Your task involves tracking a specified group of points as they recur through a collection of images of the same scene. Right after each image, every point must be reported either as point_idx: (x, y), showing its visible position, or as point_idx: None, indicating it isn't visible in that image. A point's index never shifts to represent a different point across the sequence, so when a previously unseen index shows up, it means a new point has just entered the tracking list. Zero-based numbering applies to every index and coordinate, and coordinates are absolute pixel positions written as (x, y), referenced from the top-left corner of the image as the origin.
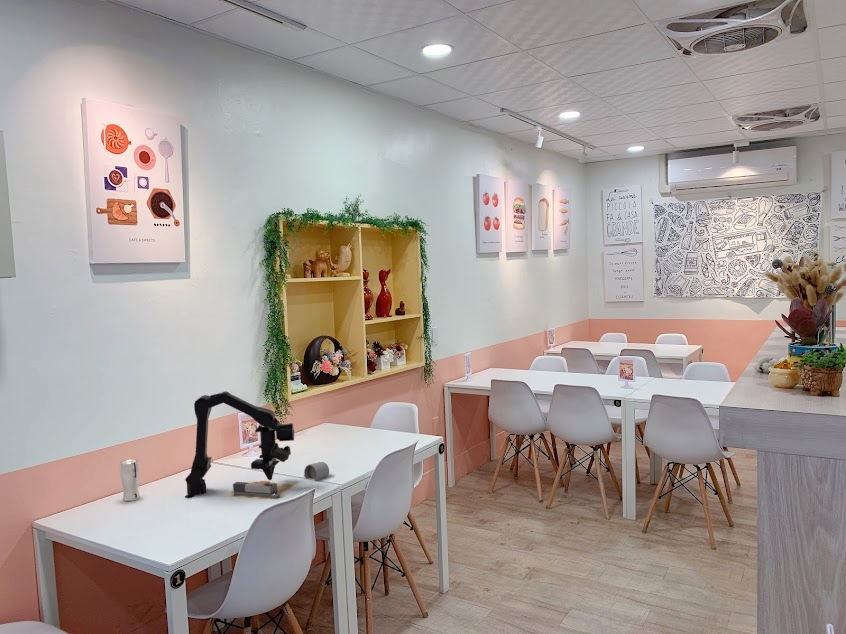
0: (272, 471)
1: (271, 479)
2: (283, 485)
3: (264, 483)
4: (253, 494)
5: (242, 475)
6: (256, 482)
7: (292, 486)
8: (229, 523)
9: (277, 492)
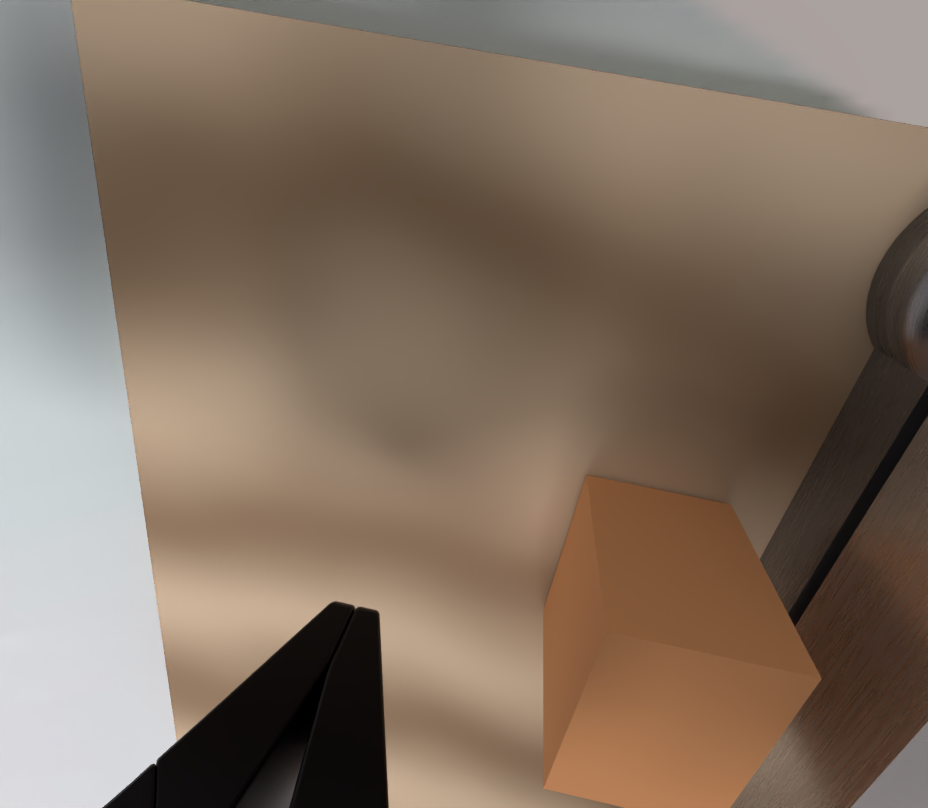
0: (234, 802)
1: (347, 605)
2: (234, 314)
3: (773, 710)
4: None
5: (5, 803)
6: (202, 704)
7: (256, 72)
8: None
9: None
